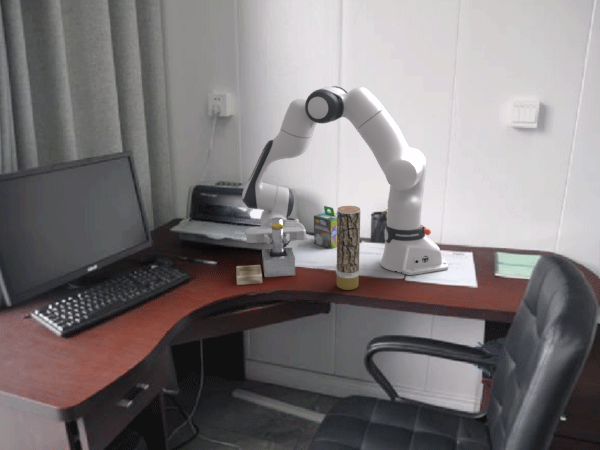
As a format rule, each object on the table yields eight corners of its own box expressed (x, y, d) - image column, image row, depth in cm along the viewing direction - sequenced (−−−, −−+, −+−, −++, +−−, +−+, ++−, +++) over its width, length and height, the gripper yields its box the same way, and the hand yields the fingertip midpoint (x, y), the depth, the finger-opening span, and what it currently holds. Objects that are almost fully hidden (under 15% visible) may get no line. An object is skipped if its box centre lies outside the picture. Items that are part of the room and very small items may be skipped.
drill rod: (283, 267, 170) (282, 217, 165) (284, 272, 167) (283, 220, 161) (272, 268, 170) (270, 217, 164) (273, 272, 166) (271, 221, 161)
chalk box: (347, 243, 192) (347, 206, 188) (330, 249, 186) (330, 211, 182) (329, 237, 199) (329, 201, 194) (313, 243, 193) (313, 206, 188)
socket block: (291, 263, 173) (291, 247, 172) (295, 275, 164) (294, 258, 162) (262, 265, 172) (262, 249, 170) (264, 277, 163) (263, 260, 161)
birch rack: (260, 272, 167) (260, 264, 166) (262, 283, 158) (262, 275, 158) (236, 273, 166) (236, 266, 165) (236, 284, 157) (236, 277, 157)
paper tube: (357, 291, 152) (359, 212, 144) (335, 290, 153) (335, 211, 145) (359, 282, 158) (361, 206, 150) (338, 281, 159) (338, 205, 152)
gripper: (244, 221, 175) (245, 234, 162) (302, 218, 177) (308, 230, 164) (245, 238, 177) (246, 252, 164) (302, 235, 179) (308, 248, 166)
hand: (277, 241), depth 164 cm, fingers closed on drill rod, 4 cm apart
